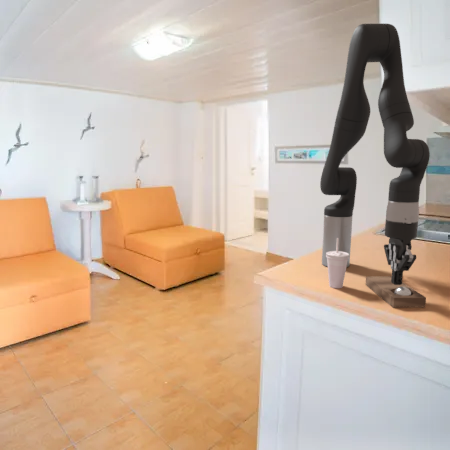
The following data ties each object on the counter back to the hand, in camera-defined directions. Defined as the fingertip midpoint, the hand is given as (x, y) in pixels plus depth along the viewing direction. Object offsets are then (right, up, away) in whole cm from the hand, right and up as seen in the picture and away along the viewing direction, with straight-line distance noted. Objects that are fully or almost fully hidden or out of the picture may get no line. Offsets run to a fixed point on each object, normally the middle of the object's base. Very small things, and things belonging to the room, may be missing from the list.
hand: (396, 283), depth 98 cm
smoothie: (-13, -2, +9) cm, 16 cm away
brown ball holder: (0, -3, +2) cm, 4 cm away
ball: (0, -2, -3) cm, 4 cm away
